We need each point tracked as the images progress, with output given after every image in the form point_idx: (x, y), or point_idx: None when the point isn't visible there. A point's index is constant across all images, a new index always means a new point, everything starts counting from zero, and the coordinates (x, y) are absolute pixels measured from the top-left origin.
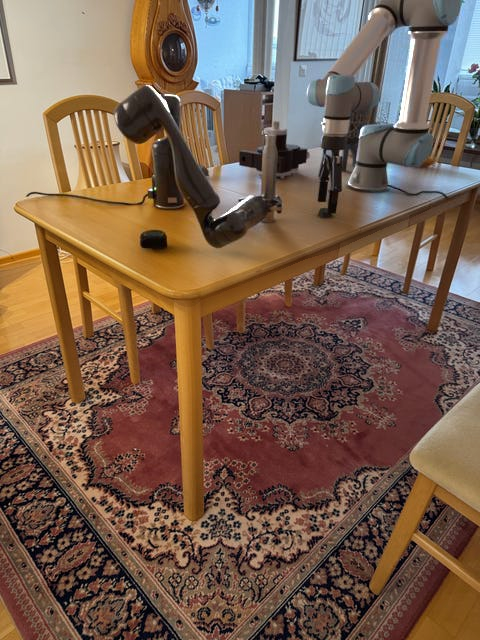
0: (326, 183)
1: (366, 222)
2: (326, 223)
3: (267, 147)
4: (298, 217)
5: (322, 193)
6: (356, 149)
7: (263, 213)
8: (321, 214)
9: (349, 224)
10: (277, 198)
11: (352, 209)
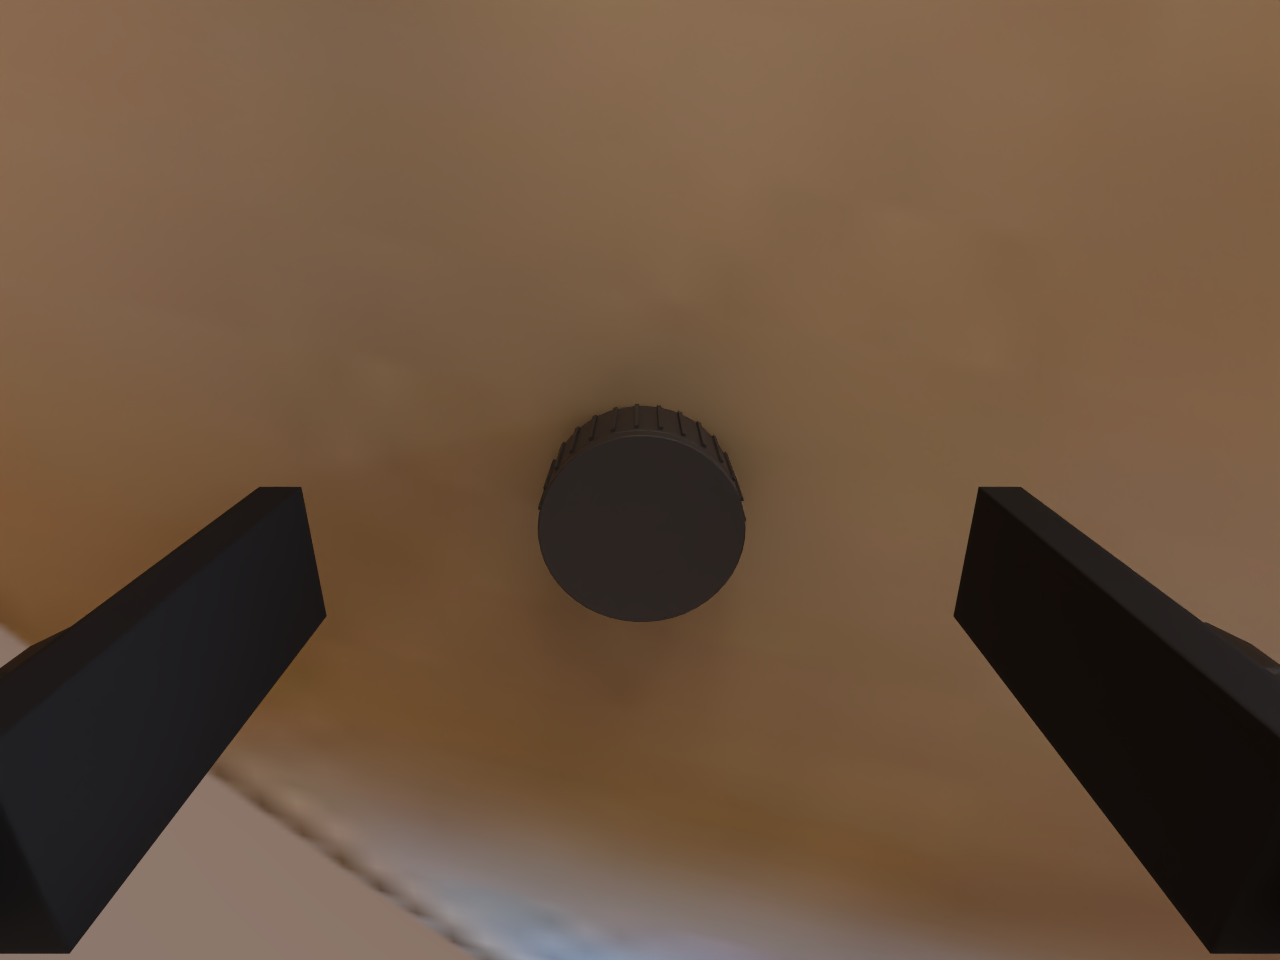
0: (1192, 875)
1: (414, 862)
2: (309, 436)
3: None
4: (575, 31)
5: (1048, 634)
6: None
7: None
8: (580, 438)
9: (314, 694)
10: None
11: (897, 853)
